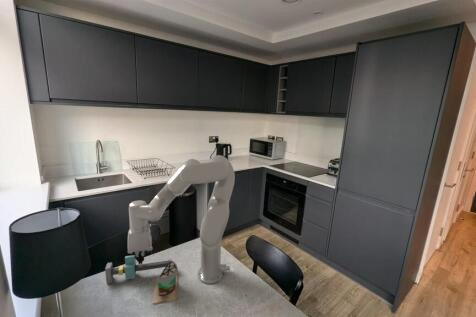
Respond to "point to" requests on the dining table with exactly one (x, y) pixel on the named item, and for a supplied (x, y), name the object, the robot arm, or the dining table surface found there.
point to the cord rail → (113, 271)
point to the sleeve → (130, 267)
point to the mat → (165, 298)
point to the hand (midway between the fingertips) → (140, 262)
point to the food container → (167, 279)
